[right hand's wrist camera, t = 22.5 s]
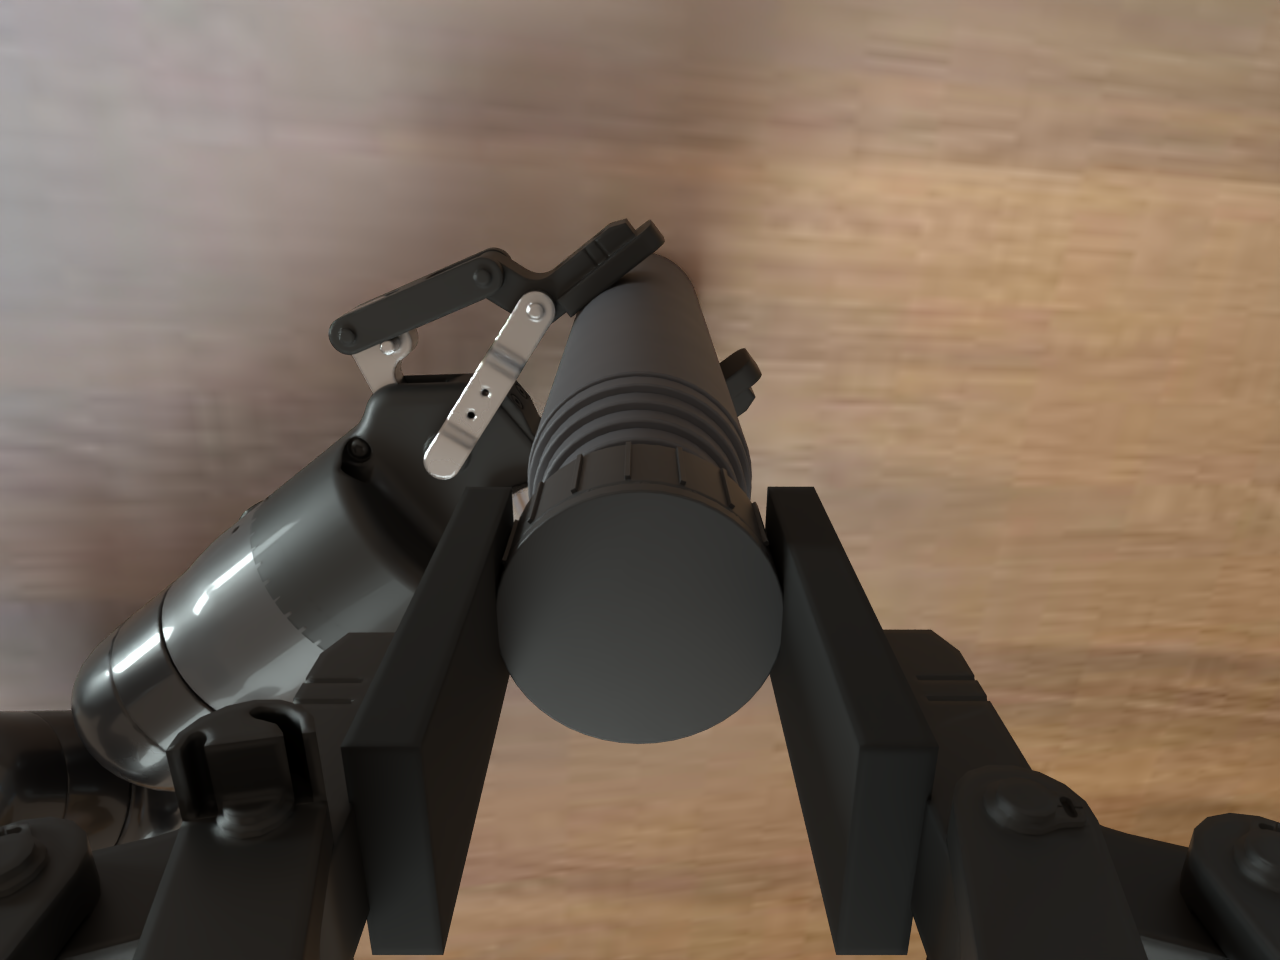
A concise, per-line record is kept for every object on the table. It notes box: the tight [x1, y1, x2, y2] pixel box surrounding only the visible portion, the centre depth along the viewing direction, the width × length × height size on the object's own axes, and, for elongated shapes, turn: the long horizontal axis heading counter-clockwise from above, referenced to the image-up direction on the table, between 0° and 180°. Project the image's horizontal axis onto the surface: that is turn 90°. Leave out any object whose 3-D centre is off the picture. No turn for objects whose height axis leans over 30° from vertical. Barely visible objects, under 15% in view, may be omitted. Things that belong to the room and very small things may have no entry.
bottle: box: [528, 253, 752, 500], centre depth 24 cm, size 5×5×23 cm
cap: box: [496, 442, 783, 744], centre depth 14 cm, size 4×4×2 cm
